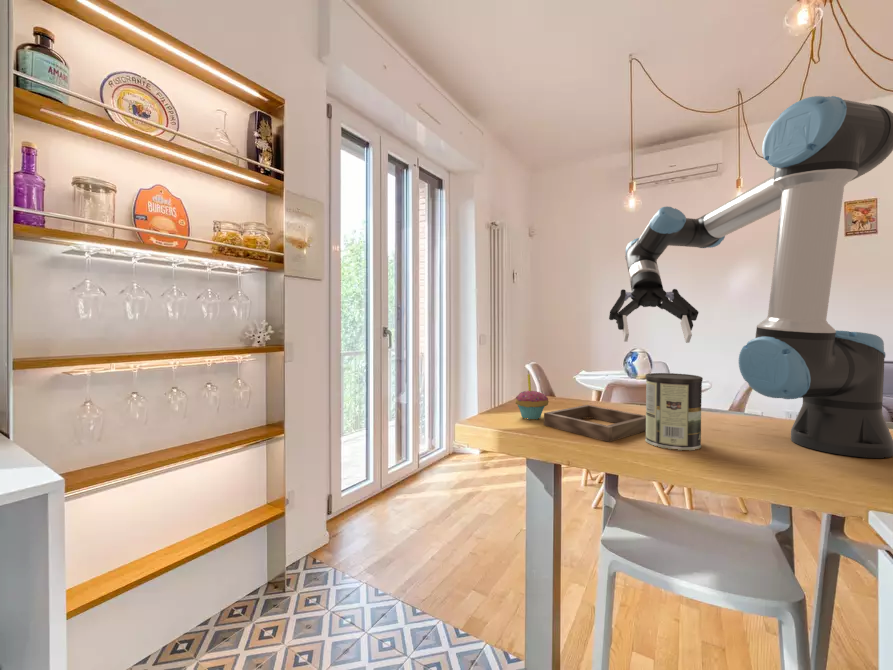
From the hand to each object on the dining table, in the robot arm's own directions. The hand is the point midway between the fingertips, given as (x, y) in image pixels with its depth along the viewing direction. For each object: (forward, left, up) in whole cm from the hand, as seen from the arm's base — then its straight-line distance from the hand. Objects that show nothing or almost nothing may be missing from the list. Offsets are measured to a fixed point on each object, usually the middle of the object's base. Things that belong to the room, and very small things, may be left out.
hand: (657, 338), depth 99 cm
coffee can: (-9, +11, -21) cm, 26 cm away
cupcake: (+24, +17, -21) cm, 36 cm away
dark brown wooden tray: (+8, +12, -21) cm, 26 cm away
